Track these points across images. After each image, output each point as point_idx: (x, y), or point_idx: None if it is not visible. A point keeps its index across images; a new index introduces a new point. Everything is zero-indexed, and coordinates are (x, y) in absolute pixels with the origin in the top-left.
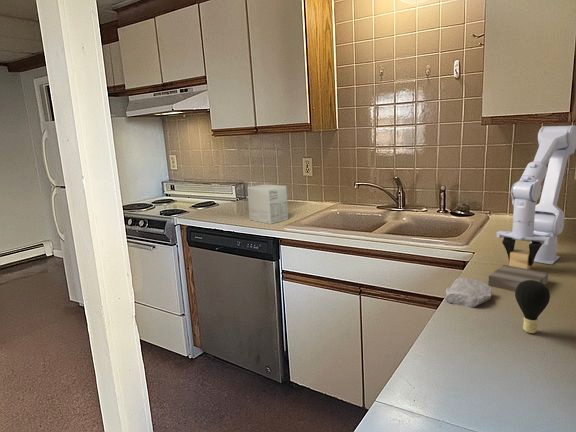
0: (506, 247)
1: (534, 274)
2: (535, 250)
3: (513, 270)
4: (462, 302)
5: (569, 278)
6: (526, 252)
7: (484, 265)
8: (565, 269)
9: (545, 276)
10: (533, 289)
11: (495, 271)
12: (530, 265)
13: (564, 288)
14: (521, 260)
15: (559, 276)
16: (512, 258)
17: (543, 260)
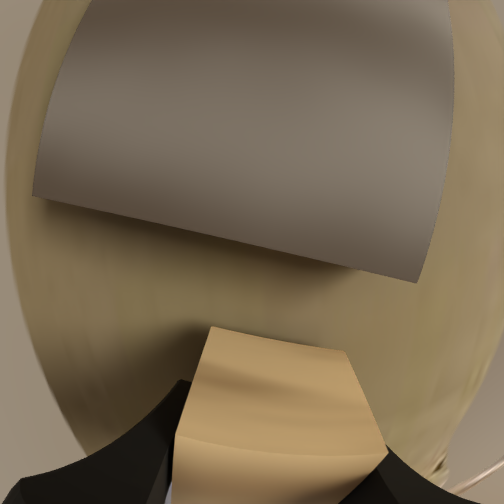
0: (429, 492)
1: (114, 82)
2: (61, 470)
3: (321, 111)
4: None
5: (28, 318)
6: (215, 497)
7: (452, 367)
8: (81, 425)
9: (51, 118)
10: None
11: (448, 54)
12: (182, 380)
13: (23, 144)
14: (255, 396)
15: (60, 336)
16: (346, 408)
17: (171, 486)
